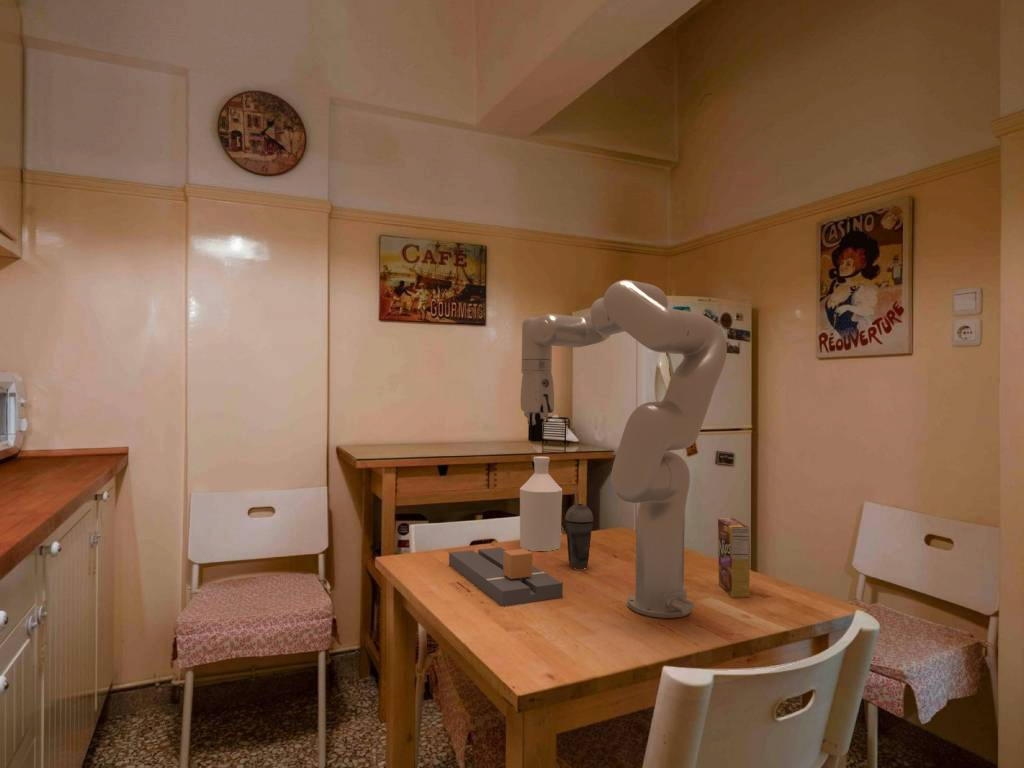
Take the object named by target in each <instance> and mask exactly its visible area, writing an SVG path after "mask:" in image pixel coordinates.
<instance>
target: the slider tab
mask: <svg viewBox="0 0 1024 768" xmlns="http://www.w3.org/2000/svg"><path fill="white" fill-rule="evenodd" d="M532 566H533V552H532V551H528V550H525V549H522V548H519V549H511V550H509V549H508V550H506V551H504V559H503V574H504V575H506V576H507V577H509V578H510V579H517V580H519V581H520V582H522V583H523V577H531V576H532Z"/></svg>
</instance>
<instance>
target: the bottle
mask: <svg viewBox="0 0 1024 768" xmlns="http://www.w3.org/2000/svg"><path fill="white" fill-rule="evenodd" d="M550 459H551V458H550V457H549V456H533V464H534V465H533V467H534V468H533V469H534V473H533V474H532V475H531V476H530V478H529V479H528V480H527V481H526V482H525V483H524V484H523V485H522V486H521V487H520V488H519V547H520V548H521V547H522V548H523V549H526V550H527V551H528V550H530V551H529V552H535V551H549V552H552V551H551V550H555V551H557V550H556V549H558V548H560V549H561V545H562V544H561V542H562V541H561V539H562V508H563V507H562V505H563V489H562V487H561V486H559V484H558V483H557V482H556V481H555V480H554V478H553V477H552V476H551V475H550V474H549V463H550ZM522 548H521V549H522ZM558 550H559V549H558Z"/></svg>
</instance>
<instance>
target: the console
mask: <svg viewBox="0 0 1024 768" xmlns="http://www.w3.org/2000/svg"><path fill="white" fill-rule="evenodd" d="M504 551H507V550H506V549H504V548H502V547H501V546H500V547H489V548H481V549H479V548H478V550H477V552H476V551H474V550H472V549H471V550H462V551H453V552H452V551H451V552H449V553H448V565H449V566H450V567H451V568H452V569H454V570H456V572H458V573H459V574H461V576H463V577H465V578H466V579H467V580H468V581H469V582H470V583H472V584H473V585H475V586H476V587H477V588H478V589H480V590H481V591H482V592H483V593H484V594H486V595H487V596H488V597H489V598H491V599H492V600H493V601H495V603H497V604H498V605H499V606H501V607H507V606H506V605H508V606H514V604H515V605H521V604H520V603H522V604H527V602H528V603H535V602H540V601H541V600H542V601H548V600H554V598H555V599H561V598H560V597H562V598H563V594H564V593H563V592H564V589H563V587H564V586H563V585H564V583H563V582H562V581H560V580H558V579H556V578H554V577H553V576H551V575H550V574H547V573H546V572H545V571H542V570H540V568H537V567H535V566H534V565H532V576H531V577H523V583H522V582H520V581H519V580H517V579H510V578H509V577H507V576H506V575H504V574H503V559H504ZM547 599H548V600H547ZM534 601H535V602H534ZM512 604H513V605H512Z"/></svg>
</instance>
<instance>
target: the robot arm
mask: <svg viewBox="0 0 1024 768" xmlns="http://www.w3.org/2000/svg"><path fill="white" fill-rule="evenodd" d="M623 332H626V333H627V334H628V335H629V336H630V337H632V338H633V339H635V340H636V341H637V342H639V344H641V345H642V346H643V347H645V348H646V349H649V350H651V351H653V352H656V353H663V354H673V355H675V354H676V355H682V356H683V359H682V361H681V362H680V364H679V365H677V367H676V368H675V370H674V372H673V373H672V375H671V377H670V380H669V381H668V386H667V389H666V391H665V394H664V396H663V398H662V400H661V401H649V402H645V403H642V404H640V405H639V406H637V407H636V408H635V409H634V411H632V413H631V414H630V415H629V417H628V419H627V421H626V424H625V427H624V430H623V431H622V436H621V439H620V441H619V442H620V443H619V446H618V448H617V451H616V455H615V456H614V457H615V458H614V461H613V464H612V469H611V485H612V488H613V491H614V492H615V494H616V496H618V498H619V499H621V500H622V501H625V502H627V503H633V504H635V503H638V504H639V505H638V509H637V513H636V524H635V525H636V528H635V529H636V530H635V593H633V594H630V596H629V597H627V606H628V607H629V608H630V610H632V611H633V612H635V613H637V614H640V615H643V616H648V617H652V618H660V619H675V618H681V617H685V616H688V615H689V614H691V612H692V610H693V609H694V608H695V603H694V601H692V600H690V599H688V596H687V595H688V591H687V589H684V588H685V587H684V586H685V582H684V581H685V575H684V574H685V531H686V530H685V529H686V527H685V526H686V523H685V522H686V521H685V520H686V507H687V499H688V494H689V489H690V484H691V474H690V469H689V466H688V464H687V463H686V461H685V460H684V459H683V457H682V456H680V455H679V454H677V453H675V452H672V451H679V450H685V449H687V448H690V447H691V446H693V445H694V444H695V443H696V442H697V440H698V437H699V436H700V432H701V430H702V427H703V424H704V422H705V418H706V415H707V413H708V410H709V407H710V404H711V401H712V399H713V394H714V391H715V388H716V385H717V384H718V381H719V379H720V376H721V374H722V372H723V370H724V366H725V364H726V360H727V353H728V347H727V346H728V344H727V341H726V337H725V334H724V332H723V331H722V329H721V327H720V326H719V325H718V324H717V323H716V322H715V321H714V320H713V319H711V318H709V317H708V316H705V315H703V314H701V313H698V312H694V311H689V310H681V309H676V308H670V307H669V301H668V297H667V296H666V294H665V292H664V291H663V290H662V289H661V288H659V287H658V286H656V285H653V284H650V283H646V282H641V281H636V280H630V279H622V280H618V281H616V282H614V283H613V284H611V285H610V286H609V287H608V288H607V290H606V291H605V293H604V295H603V297H600V298H598V299H596V300H594V302H593V303H592V304H591V307H590V313H589V314H587V315H584V316H572V315H565V314H557V313H556V314H555V313H547V314H543V315H541V316H537V317H528V318H525V319H524V320H523V322H522V325H521V374H522V378H521V387H520V409H521V411H522V412H524V413H523V416H524V417H526V418H527V425H528V429H527V430H528V431H527V432H528V436H527V437H528V438H527V440H528V441H529V442H542V441H543V435H544V431H543V429H544V427H543V425H544V423H545V419H548V418H549V414H551V413H553V412H554V411H555V387H554V386H555V385H554V380H553V372H552V362H553V361H552V357H553V346H554V347H566V348H567V347H568V348H582V347H583V348H584V347H587V346H592V345H595V344H598V343H601V342H604V341H606V340H607V339H608V338H610V337H611V336H612V335H616V334H619V333H623Z"/></svg>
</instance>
